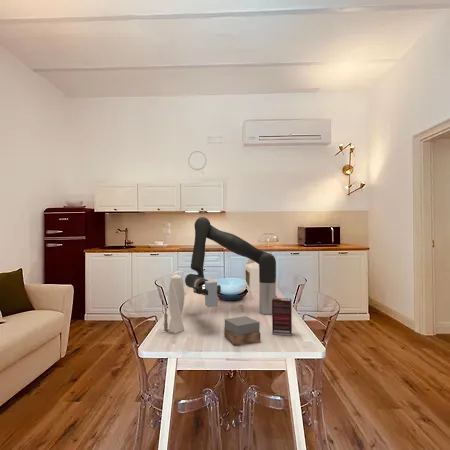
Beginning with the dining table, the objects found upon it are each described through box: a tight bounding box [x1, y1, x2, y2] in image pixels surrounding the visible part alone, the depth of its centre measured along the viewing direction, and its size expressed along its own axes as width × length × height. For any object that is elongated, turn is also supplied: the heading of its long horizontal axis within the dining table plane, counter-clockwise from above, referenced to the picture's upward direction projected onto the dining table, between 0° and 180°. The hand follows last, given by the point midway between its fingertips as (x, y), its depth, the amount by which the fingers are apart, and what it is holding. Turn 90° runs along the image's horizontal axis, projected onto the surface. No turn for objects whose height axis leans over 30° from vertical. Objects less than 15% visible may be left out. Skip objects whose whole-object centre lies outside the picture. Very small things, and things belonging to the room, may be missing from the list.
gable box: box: [244, 258, 259, 293], centre depth 258 cm, size 22×13×28 cm, turn 8°
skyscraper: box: [163, 270, 185, 335], centre depth 158 cm, size 8×8×28 cm
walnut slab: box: [223, 326, 261, 347], centre depth 147 cm, size 12×12×4 cm
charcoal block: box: [224, 315, 261, 336], centre depth 147 cm, size 11×11×4 cm
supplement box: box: [271, 297, 293, 337], centre depth 154 cm, size 9×5×16 cm, turn 74°
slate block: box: [204, 280, 219, 308], centre depth 157 cm, size 5×5×11 cm
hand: (212, 292), depth 154 cm, fingers closed on slate block, 4 cm apart
